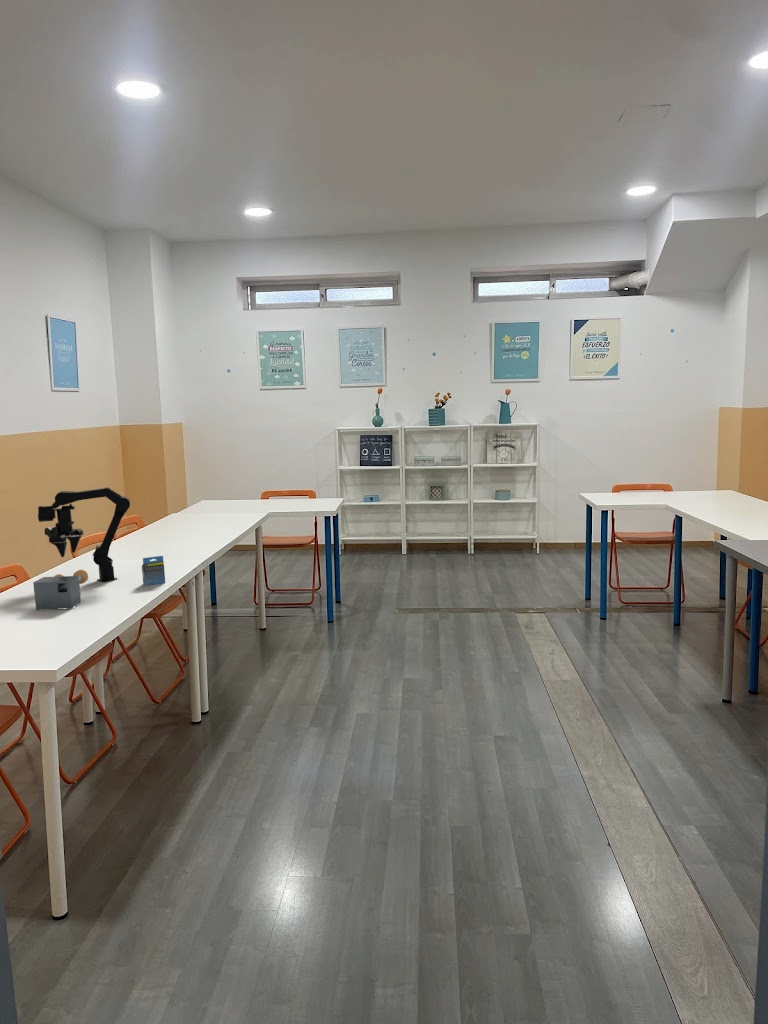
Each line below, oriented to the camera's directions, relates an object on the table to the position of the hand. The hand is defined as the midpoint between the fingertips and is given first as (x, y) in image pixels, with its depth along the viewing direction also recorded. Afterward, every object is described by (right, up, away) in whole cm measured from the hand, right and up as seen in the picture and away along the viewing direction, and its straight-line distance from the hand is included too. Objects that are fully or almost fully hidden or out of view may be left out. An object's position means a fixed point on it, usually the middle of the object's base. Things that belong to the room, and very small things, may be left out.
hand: (68, 554), depth 330 cm
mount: (+11, -18, -34) cm, 40 cm away
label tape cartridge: (+39, -13, -3) cm, 41 cm away
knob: (+15, -12, -30) cm, 35 cm away
